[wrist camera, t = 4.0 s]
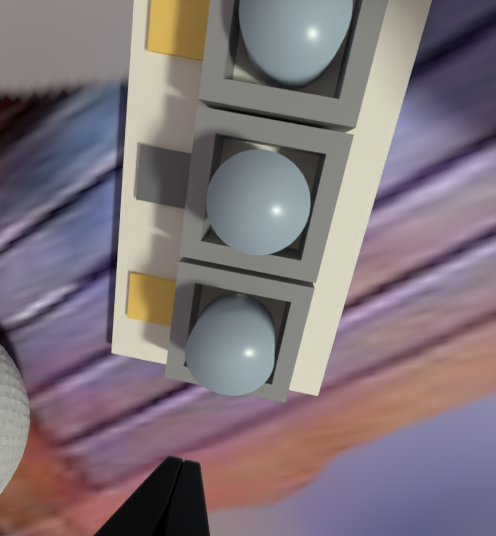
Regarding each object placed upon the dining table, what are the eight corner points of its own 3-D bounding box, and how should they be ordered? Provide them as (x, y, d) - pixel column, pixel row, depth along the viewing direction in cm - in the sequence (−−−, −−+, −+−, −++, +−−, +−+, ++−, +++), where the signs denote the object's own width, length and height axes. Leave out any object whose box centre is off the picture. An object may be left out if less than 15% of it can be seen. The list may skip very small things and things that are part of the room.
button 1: (350, -9, 15) (366, -50, 12) (326, 97, 16) (336, 81, 14) (254, -25, 15) (249, -70, 12) (238, 81, 17) (230, 63, 14)
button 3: (282, 301, 18) (282, 326, 16) (266, 369, 20) (264, 403, 17) (204, 286, 19) (190, 307, 16) (194, 354, 20) (180, 385, 17)
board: (438, -41, 16) (478, -93, 12) (316, 388, 23) (322, 423, 20) (146, -89, 16) (114, -151, 13) (117, 346, 23) (91, 375, 20)
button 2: (314, 161, 16) (321, 160, 13) (294, 248, 18) (297, 263, 15) (225, 145, 16) (214, 140, 13) (212, 232, 18) (199, 244, 15)
